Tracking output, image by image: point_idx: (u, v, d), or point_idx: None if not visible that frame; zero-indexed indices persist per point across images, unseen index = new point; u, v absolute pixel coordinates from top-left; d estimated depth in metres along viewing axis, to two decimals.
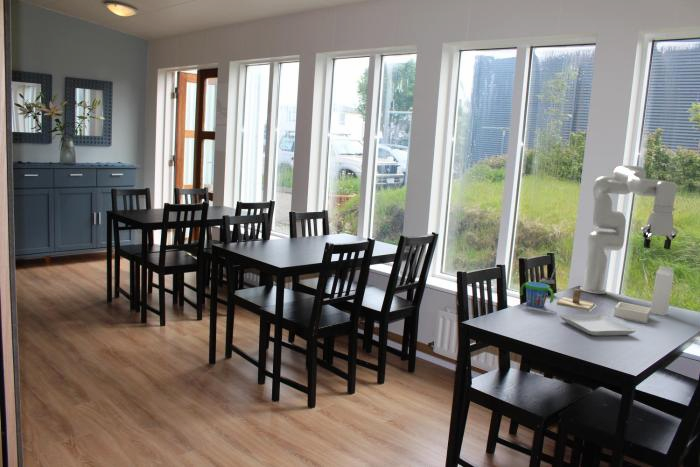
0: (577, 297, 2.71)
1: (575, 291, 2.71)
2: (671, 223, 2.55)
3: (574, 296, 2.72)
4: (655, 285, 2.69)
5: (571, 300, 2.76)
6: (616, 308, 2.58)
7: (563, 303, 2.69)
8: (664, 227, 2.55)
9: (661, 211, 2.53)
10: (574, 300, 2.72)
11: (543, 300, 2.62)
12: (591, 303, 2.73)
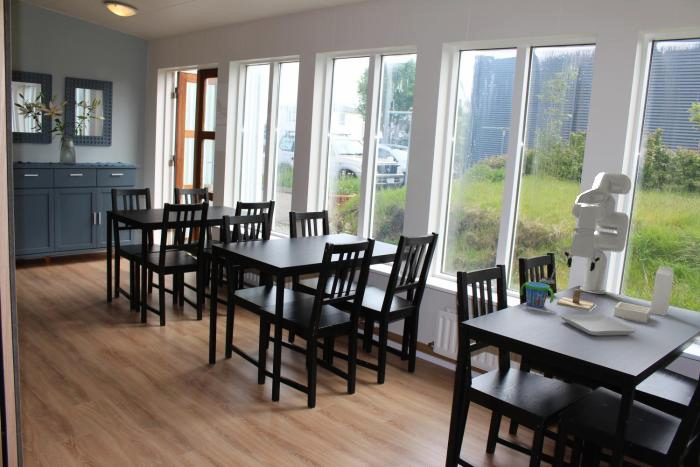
0: (577, 297, 2.71)
1: (575, 291, 2.71)
2: None
3: (574, 296, 2.72)
4: (655, 285, 2.69)
5: (571, 300, 2.76)
6: (616, 308, 2.58)
7: (563, 303, 2.69)
8: None
9: None
10: (574, 300, 2.72)
11: (543, 300, 2.62)
12: (591, 303, 2.73)
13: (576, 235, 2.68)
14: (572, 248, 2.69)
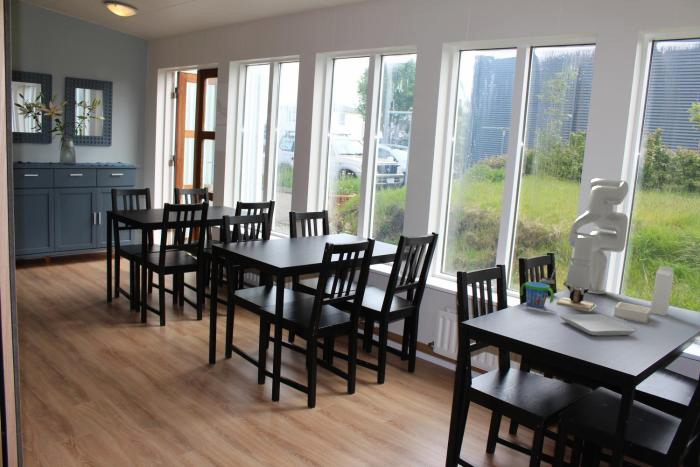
0: (577, 297, 2.71)
1: (575, 291, 2.71)
2: None
3: (574, 296, 2.72)
4: (655, 285, 2.69)
5: None
6: (616, 308, 2.58)
7: (563, 303, 2.69)
8: None
9: None
10: (574, 300, 2.72)
11: (543, 300, 2.62)
12: (591, 303, 2.73)
13: (572, 265, 2.70)
14: (568, 278, 2.71)
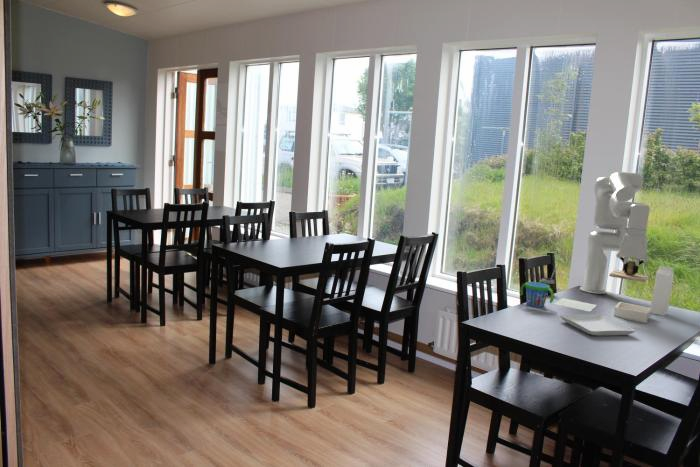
0: (631, 269, 2.58)
1: (629, 263, 2.58)
2: None
3: (628, 268, 2.58)
4: (655, 285, 2.69)
5: (624, 273, 2.63)
6: (616, 308, 2.58)
7: (617, 275, 2.56)
8: None
9: None
10: (628, 272, 2.58)
11: (543, 300, 2.62)
12: (646, 276, 2.60)
13: (626, 235, 2.57)
14: (622, 249, 2.58)
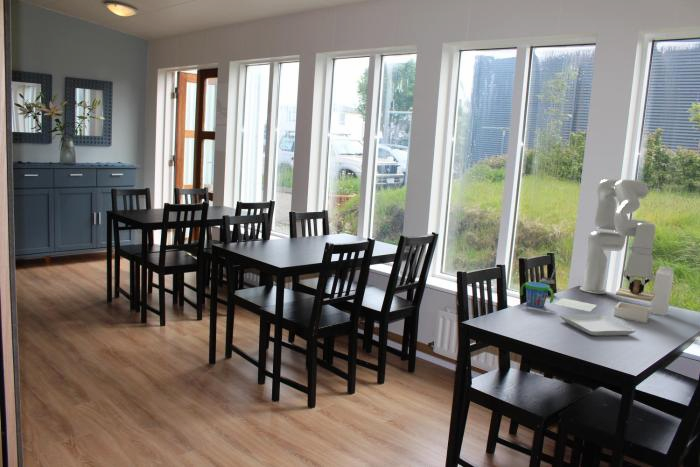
0: (637, 288, 2.57)
1: (635, 281, 2.57)
2: None
3: (634, 287, 2.58)
4: (655, 285, 2.69)
5: None
6: (616, 308, 2.58)
7: (623, 294, 2.55)
8: None
9: None
10: (634, 291, 2.58)
11: (543, 300, 2.62)
12: (652, 294, 2.59)
13: (632, 254, 2.56)
14: (628, 268, 2.57)
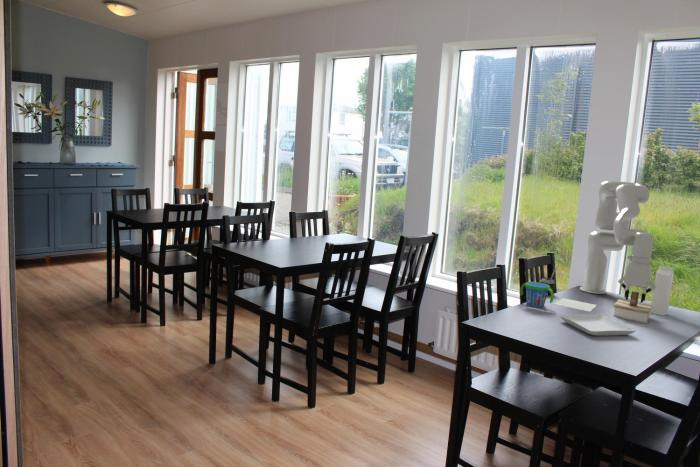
0: (635, 300, 2.58)
1: (633, 293, 2.58)
2: None
3: (632, 299, 2.59)
4: (655, 285, 2.69)
5: (628, 303, 2.63)
6: (616, 308, 2.58)
7: (621, 306, 2.56)
8: None
9: None
10: (632, 303, 2.59)
11: (543, 300, 2.62)
12: (649, 306, 2.60)
13: (630, 264, 2.57)
14: (626, 277, 2.58)
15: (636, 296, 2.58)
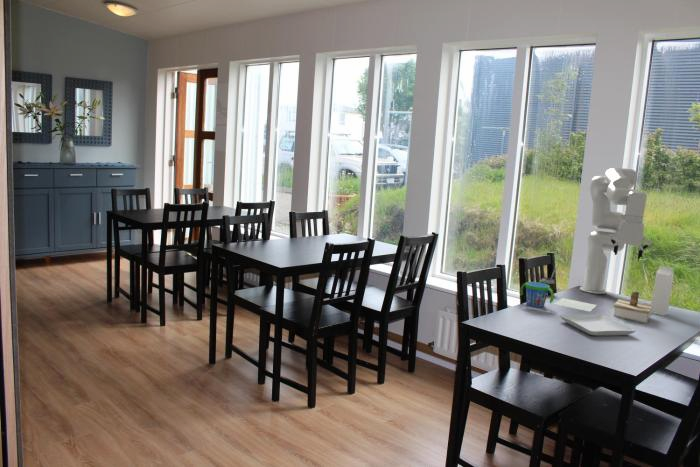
0: (635, 300, 2.58)
1: (633, 293, 2.58)
2: None
3: (632, 299, 2.59)
4: (655, 285, 2.69)
5: (628, 303, 2.63)
6: (616, 308, 2.58)
7: (621, 306, 2.56)
8: None
9: None
10: (632, 303, 2.59)
11: (543, 300, 2.62)
12: (649, 306, 2.60)
13: (624, 222, 2.63)
14: (619, 235, 2.64)
15: (636, 296, 2.58)
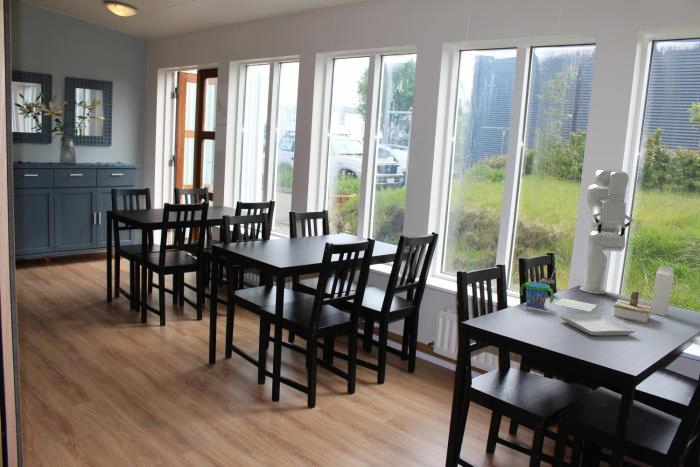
0: (635, 300, 2.58)
1: (633, 293, 2.58)
2: None
3: (632, 299, 2.59)
4: (655, 285, 2.69)
5: (628, 303, 2.63)
6: (616, 308, 2.58)
7: (621, 306, 2.56)
8: None
9: None
10: (632, 303, 2.59)
11: (543, 300, 2.62)
12: (649, 306, 2.60)
13: (606, 201, 2.76)
14: (602, 214, 2.77)
15: (636, 296, 2.58)
